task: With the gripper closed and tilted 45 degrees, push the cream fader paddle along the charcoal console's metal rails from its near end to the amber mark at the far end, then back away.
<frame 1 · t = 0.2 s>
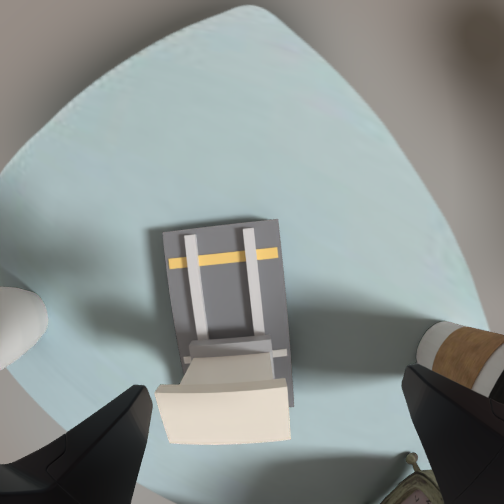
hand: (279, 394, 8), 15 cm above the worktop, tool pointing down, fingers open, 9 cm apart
fader console: (232, 321, 24), on the worktop
tabletop clock: (400, 480, 25), on the worktop
fader: (229, 385, 17), point 7 cm above the worktop, slide at 0.0 cm
coffee cup: (436, 347, 24), on the worktop
cup: (34, 313, 24), on the worktop
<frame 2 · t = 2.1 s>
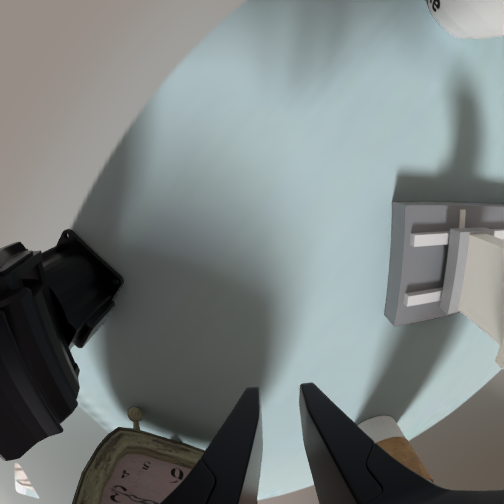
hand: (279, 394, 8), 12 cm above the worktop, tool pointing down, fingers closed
fader console: (463, 254, 20), on the worktop
tabletop clock: (180, 437, 25), on the worktop
fader: (497, 286, 13), point 7 cm above the worktop, slide at 0.0 cm
coffee cup: (370, 430, 25), on the worktop
cup: (448, 17, 14), on the worktop
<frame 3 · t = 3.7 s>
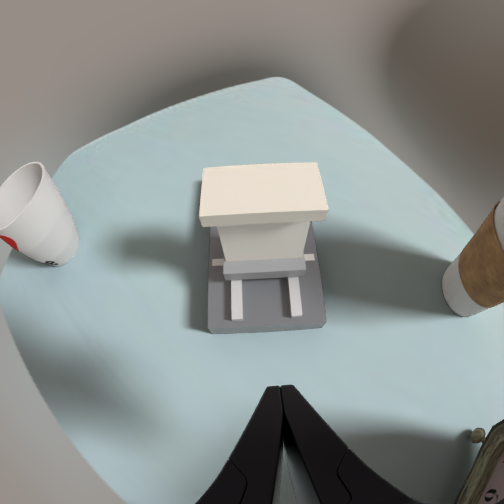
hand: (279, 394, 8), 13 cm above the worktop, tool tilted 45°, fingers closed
fader console: (262, 245, 26), on the worktop
tabletop clock: (468, 484, 13), on the worktop
fader: (263, 226, 19), point 7 cm above the worktop, slide at 0.0 cm
coffee cup: (461, 290, 23), on the worktop
cup: (64, 247, 28), on the worktop
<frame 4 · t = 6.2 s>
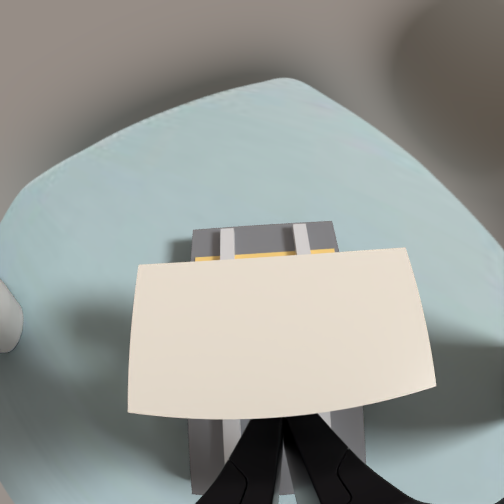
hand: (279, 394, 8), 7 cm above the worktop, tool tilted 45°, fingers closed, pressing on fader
fader console: (271, 358, 16), on the worktop
fader: (276, 359, 9), point 7 cm above the worktop, slide at 1.5 cm, touching gripper
cup: (8, 325, 17), on the worktop
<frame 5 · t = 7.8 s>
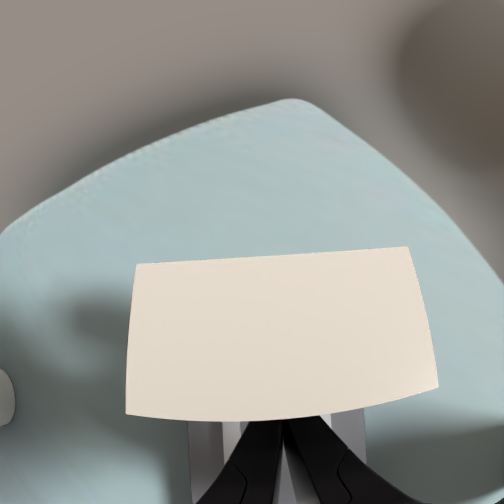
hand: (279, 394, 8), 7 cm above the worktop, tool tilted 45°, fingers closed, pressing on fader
fader console: (277, 465, 12), on the worktop
fader: (277, 359, 9), point 7 cm above the worktop, slide at 8.1 cm, touching gripper
cup: (1, 396, 14), on the worktop
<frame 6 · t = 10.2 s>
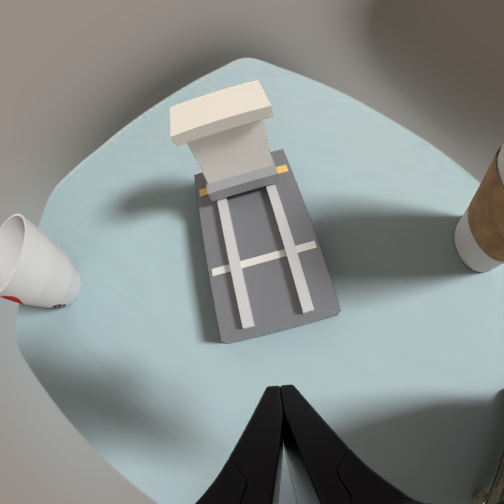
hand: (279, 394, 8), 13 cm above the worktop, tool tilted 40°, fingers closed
fader console: (260, 241, 25), on the worktop
fader: (230, 143, 21), point 7 cm above the worktop, slide at 8.0 cm
coffee cup: (476, 244, 21), on the worktop
cup: (68, 286, 28), on the worktop
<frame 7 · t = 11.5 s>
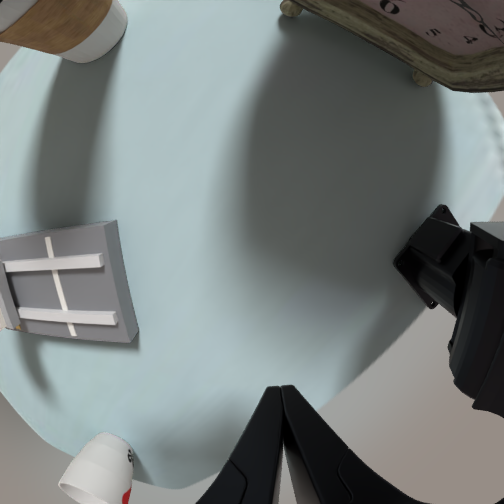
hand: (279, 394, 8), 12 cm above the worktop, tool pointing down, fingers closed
fader console: (52, 280, 20), on the worktop
tabletop clock: (365, 21, 15), on the worktop
coffee cup: (97, 33, 15), on the worktop
cup: (115, 443, 27), on the worktop
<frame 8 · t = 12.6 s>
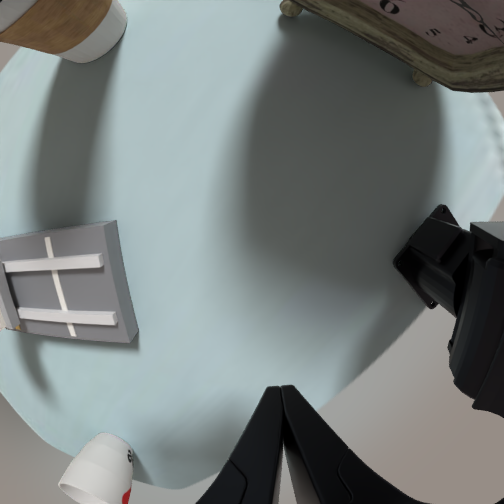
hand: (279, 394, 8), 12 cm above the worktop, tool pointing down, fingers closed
fader console: (52, 280, 20), on the worktop
tabletop clock: (365, 21, 15), on the worktop
coffee cup: (96, 33, 15), on the worktop
cup: (115, 443, 27), on the worktop
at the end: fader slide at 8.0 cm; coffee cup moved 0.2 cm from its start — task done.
